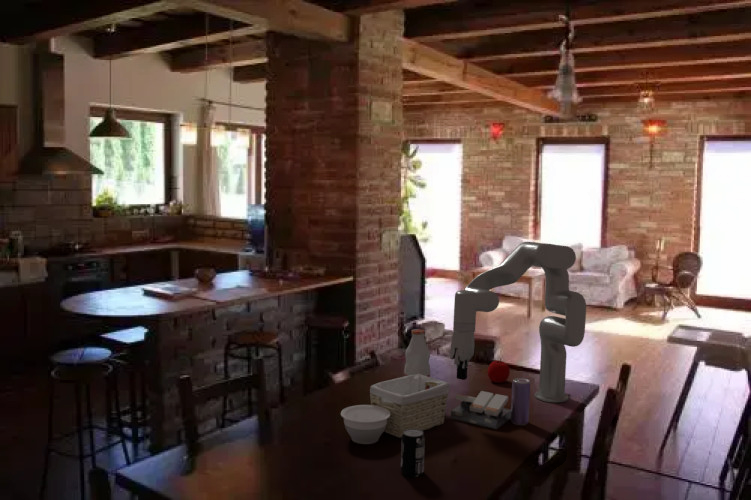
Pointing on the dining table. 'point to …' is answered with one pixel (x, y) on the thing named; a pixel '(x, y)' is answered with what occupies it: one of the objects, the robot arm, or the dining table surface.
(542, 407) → the dining table surface
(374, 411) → the bowl
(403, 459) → the beverage can
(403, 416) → the storage basket
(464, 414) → the switch unit
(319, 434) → the dining table surface
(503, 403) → the rocker
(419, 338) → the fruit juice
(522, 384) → the beverage can
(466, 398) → the rocker
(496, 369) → the fruit
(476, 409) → the rocker
